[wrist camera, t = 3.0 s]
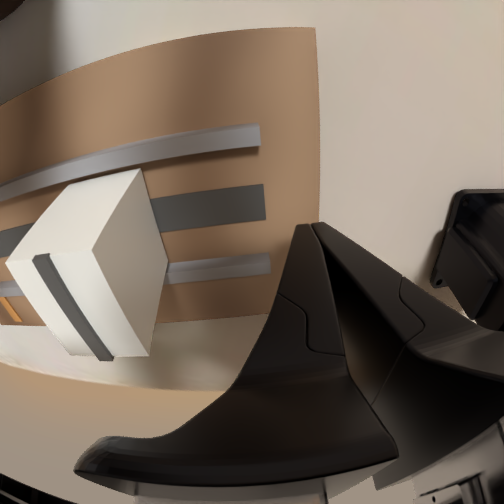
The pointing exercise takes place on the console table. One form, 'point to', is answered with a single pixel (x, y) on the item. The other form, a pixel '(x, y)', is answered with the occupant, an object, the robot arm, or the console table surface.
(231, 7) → the console table surface
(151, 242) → the fader tab
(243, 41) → the fader board
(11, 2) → the coffee mug
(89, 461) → the robot arm
